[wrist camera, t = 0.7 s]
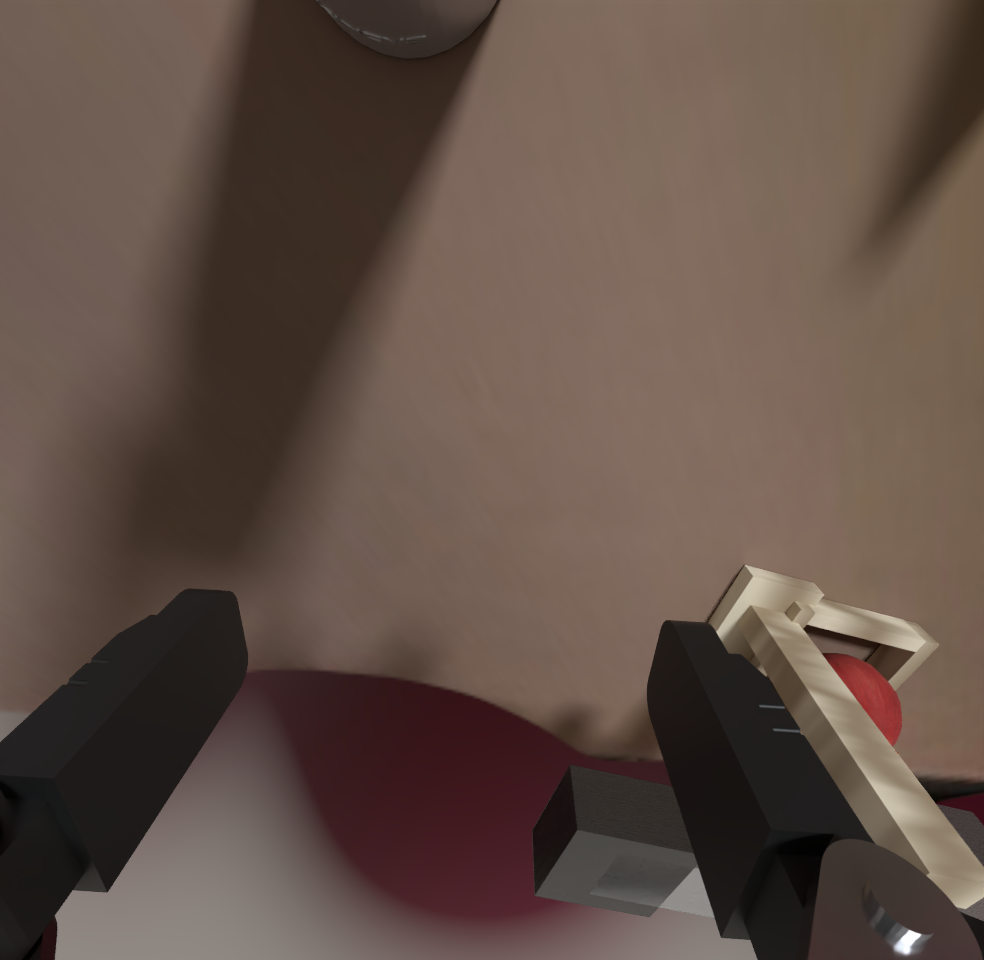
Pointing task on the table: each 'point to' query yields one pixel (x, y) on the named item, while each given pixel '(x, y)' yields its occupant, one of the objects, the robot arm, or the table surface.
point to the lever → (640, 846)
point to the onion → (870, 693)
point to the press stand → (848, 715)
